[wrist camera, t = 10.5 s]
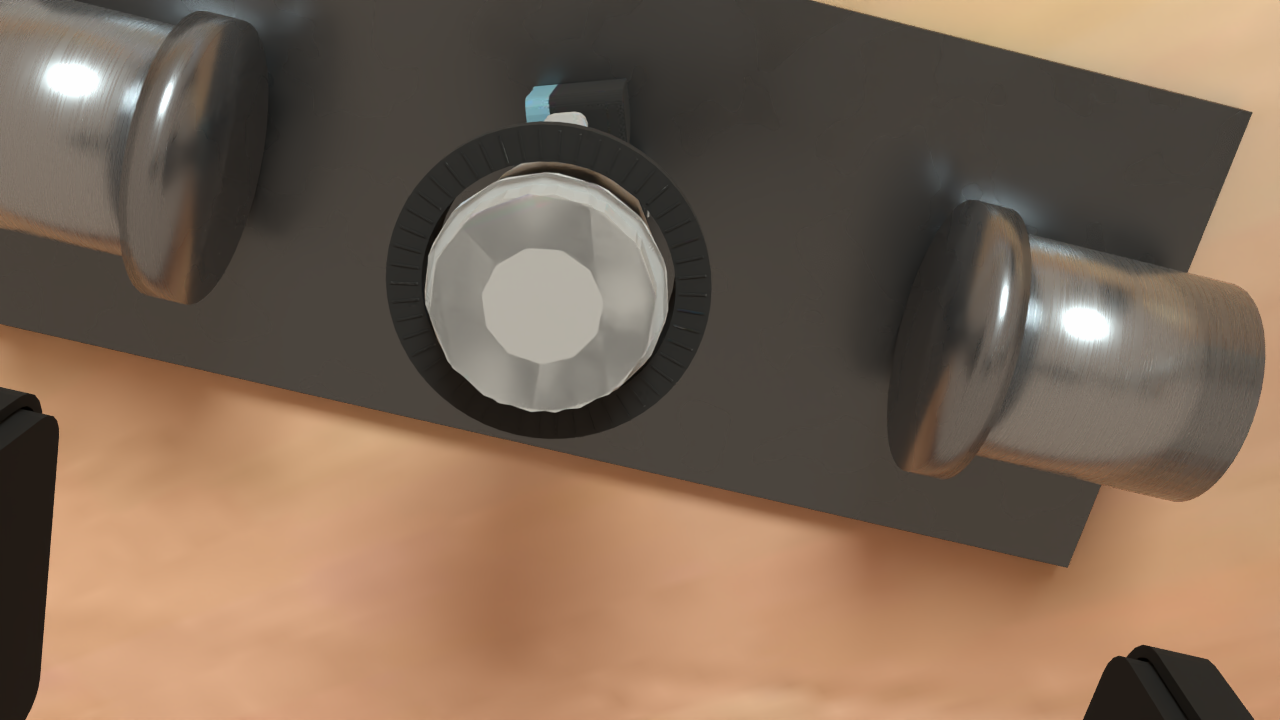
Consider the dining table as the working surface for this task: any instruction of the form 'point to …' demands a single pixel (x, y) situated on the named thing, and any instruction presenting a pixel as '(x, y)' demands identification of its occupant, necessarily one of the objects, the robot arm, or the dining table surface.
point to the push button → (550, 271)
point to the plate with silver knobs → (726, 210)
